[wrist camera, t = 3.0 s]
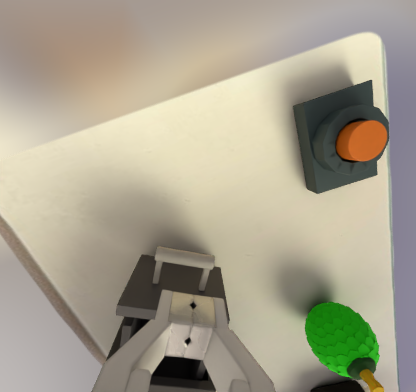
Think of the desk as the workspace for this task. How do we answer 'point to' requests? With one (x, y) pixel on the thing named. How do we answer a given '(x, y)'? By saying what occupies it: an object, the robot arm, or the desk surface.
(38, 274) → the desk surface
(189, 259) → the drawer
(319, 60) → the desk surface
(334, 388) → the audio adapter
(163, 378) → the small drawer cabinet
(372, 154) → the button
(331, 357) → the ornament
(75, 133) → the desk surface
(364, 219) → the desk surface
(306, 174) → the control block
